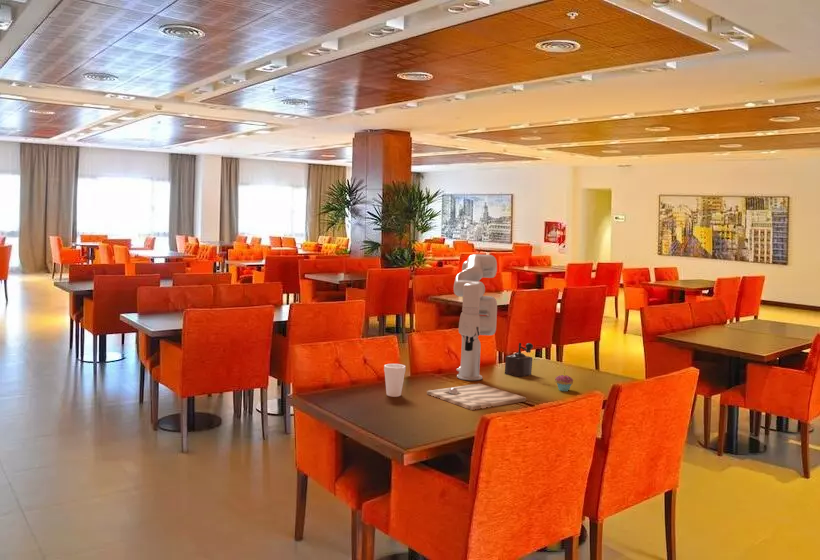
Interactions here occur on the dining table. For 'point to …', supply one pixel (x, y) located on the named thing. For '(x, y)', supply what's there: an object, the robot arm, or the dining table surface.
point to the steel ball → (453, 391)
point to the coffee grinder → (519, 362)
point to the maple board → (477, 396)
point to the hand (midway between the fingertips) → (468, 350)
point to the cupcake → (564, 382)
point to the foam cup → (394, 379)
